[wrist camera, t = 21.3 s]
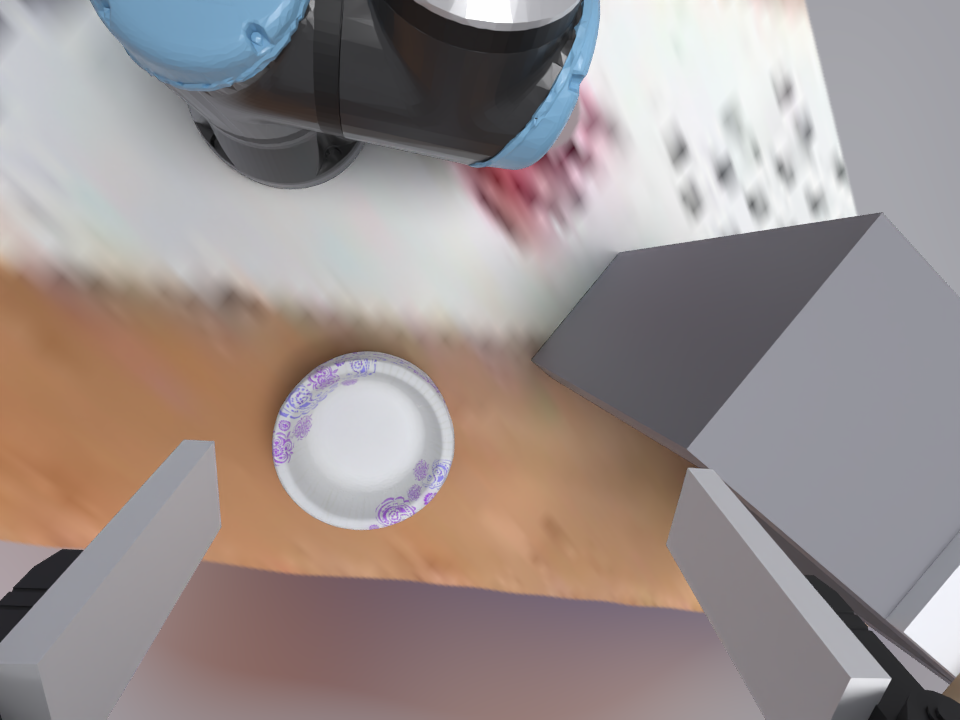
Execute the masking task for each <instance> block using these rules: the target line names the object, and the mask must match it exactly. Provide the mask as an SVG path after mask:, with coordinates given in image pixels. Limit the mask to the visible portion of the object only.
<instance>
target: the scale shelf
mask: <svg viewBox="0 0 960 720" xmlns="http://www.w3.org/2000/svg"><path fill="white" fill-rule="evenodd" d="M531 361H532V362H534V363H535V364H536V365H537V366H538V367H540V368H541V369H542V370H543V371H544V372H546V373H547V374H548V375H549V376H550V377H552V378H553V379H554V380H556V381H558V382H559V383H561V384H563V385H564V386H566V387H568V388H569V389H571V390H573V391H574V392H576V393H577V394H579V395H581V396H582V397H584V398H586V399H587V400H589V401H591V402H592V403H594V404H596V405H597V406H599V407H600V408H602V409H604V410H605V411H607V412H609V413H610V414H612V415H614V416H615V417H617V418H619V419H620V420H622V421H623V422H625V423H627V424H628V425H630V426H632V427H633V428H635V429H637V430H638V431H640V432H642V433H643V434H645V435H646V436H648V437H650V438H651V439H653V440H655V441H656V442H658V443H660V444H661V445H663V446H665V447H666V448H668V449H669V450H671V451H673V452H674V453H676V454H678V455H679V456H681V457H683V458H684V459H686V460H688V461H689V462H691V463H692V464H694V465H696V466H697V467H699V468H701V469H713V470H714V471H715V472H716V473H717V475H718V476H719V477H720V478H721V479H722V480H723V482H724V483H725V484H726V485H727V486H728V487H729V489H730V490H731V491H732V492H733V493H734V494H735V496H736V497H737V498H738V499H739V500H740V501H741V503H742V504H743V505H744V506H745V507H746V509H747V510H748V511H749V512H750V513H751V514H752V516H753V517H754V518H755V519H756V520H757V521H758V523H759V524H760V525H761V526H762V527H763V528H764V530H765V531H766V532H767V533H768V534H769V535H770V537H771V538H772V539H773V540H774V541H775V543H776V544H777V545H778V546H779V547H780V548H781V550H782V551H783V552H784V553H785V554H786V555H787V557H788V558H789V559H790V560H791V561H792V562H793V564H794V565H795V566H796V567H797V568H798V569H799V571H800V572H801V573H802V574H803V575H814V576H816V577H817V578H818V579H820V580H821V581H823V582H824V583H825V584H827V585H828V586H829V587H831V588H832V589H833V590H835V591H836V592H837V593H838V594H839V595H840V596H841V597H842V598H843V599H844V601H845V602H846V603H847V604H848V605H849V606H850V607H851V608H852V610H853V611H854V614H855V615H858V616H859V617H860V618H861V620H862V621H863V622H864V623H866V624H867V625H868V626H870V627H871V628H873V629H874V630H875V631H877V632H878V633H880V634H881V635H882V636H884V637H885V638H886V639H888V640H889V641H890V642H892V643H893V644H895V645H896V646H897V647H899V648H900V649H901V650H903V651H904V652H906V653H907V654H909V655H910V656H911V657H912V658H914V659H915V660H917V661H918V662H919V663H921V664H922V665H924V666H925V667H927V668H928V669H929V670H930V671H932V672H933V673H935V674H936V675H937V676H939V677H940V678H941V679H943V680H944V681H946V682H947V683H948V684H951V683H952V682H953V680H954V679H955V678H956V677H957V676H958V675H959V673H960V297H959V296H958V295H957V294H956V293H955V292H954V291H953V289H952V288H951V287H950V286H949V285H948V284H947V283H946V282H945V281H944V280H943V279H942V277H941V276H940V275H939V274H938V273H937V272H936V271H935V270H934V269H933V267H932V266H931V265H930V264H929V263H928V262H927V261H926V260H925V259H924V258H923V257H922V255H921V254H920V253H919V252H918V251H917V250H916V249H915V248H914V247H913V245H912V244H911V243H910V242H909V241H908V240H907V239H906V238H905V237H904V235H903V234H902V233H901V232H900V231H899V230H898V229H897V228H896V227H895V226H894V225H893V224H892V222H891V221H890V220H889V219H888V218H887V217H886V216H885V215H884V213H883V212H881V213H875V214H869V215H862V216H855V217H849V218H842V219H835V220H829V221H822V222H816V223H809V224H803V225H796V226H790V227H783V228H777V229H770V230H764V231H757V232H750V233H744V234H737V235H731V236H724V237H718V238H711V239H705V240H698V241H692V242H685V243H679V244H672V245H665V246H659V247H652V248H646V249H639V250H633V251H626V252H620V253H618V255H617V256H616V257H615V258H614V260H613V261H612V262H611V263H610V264H609V266H608V267H607V268H606V269H605V271H604V272H603V273H602V274H601V275H600V277H599V278H598V279H597V280H596V282H595V283H594V284H593V285H592V286H591V288H590V289H589V290H588V291H587V292H586V294H585V295H584V296H583V297H582V299H581V300H580V301H579V302H578V303H577V305H576V306H575V307H574V308H573V310H572V311H571V312H570V313H569V314H568V316H567V317H566V318H565V319H564V321H563V322H562V323H561V324H560V325H559V327H558V328H557V329H556V330H555V332H554V333H553V334H552V335H551V336H550V338H549V339H548V340H547V341H546V342H545V344H544V345H543V346H542V347H541V349H540V350H539V351H538V352H537V353H536V355H535V356H534V357H533V358H532V360H531Z"/></svg>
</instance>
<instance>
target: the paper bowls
mask: <svg viewBox="0 0 960 720" xmlns="http://www.w3.org/2000/svg"><path fill="white" fill-rule="evenodd" d="M272 451H273V452H272V454H273V461H274V466H275V469H276V472H277V475H278V478H279V480H280V482H281V484H282V486H283V487H284V489H285V490H286V492H287V493H288V495H289V496H290V497H291V498H292V500H294V502H295V503H296V504H297V505H298V506H299V507H301V508H302V509H303V510H304V511H305V512H307V513H308V514H310V515H311V516H313V517H314V518H316V519H318V520H320V521H322V522H324V523H327V524H329V525H333V526H336V527H340V528H345V529H353V530H371V529H378V528H383V527H387V526H390V525H393V524H396V523H399V522H401V521H403V520H405V519H407V518H409V517H411V516H412V515H414V514H415V513H417V512H418V511H420V510H421V509H422V508H423V507H424V506H426V505H427V504H428V503H429V502H430V501H431V500H432V499H433V497H434V496H435V495H436V494H437V492H438V491H439V490H440V488H441V486H442V485H443V483H444V482H445V480H446V478H447V475H448V473H449V470H450V467H451V464H452V460H453V456H454V428H453V424H452V420H451V417H450V414H449V411H448V408H447V406H446V403H445V401H444V398H443V396H442V395H441V393H440V391H439V390H438V388H437V387H436V385H435V384H434V382H433V381H432V380H431V379H430V377H429V376H428V375H427V374H426V373H424V372H423V371H422V370H421V369H419V368H418V367H416V366H415V365H413V364H412V363H410V362H408V361H406V360H404V359H402V358H399V357H396V356H393V355H390V354H385V353H380V352H370V351H365V352H353V353H349V354H344V355H341V356H338V357H335V358H333V359H331V360H329V361H327V362H325V363H323V364H321V365H319V366H318V367H316V368H315V369H313V370H312V371H311V372H310V373H309V374H307V375H306V376H305V377H304V378H303V379H302V380H301V381H300V382H299V383H298V384H297V385H296V387H295V388H294V389H293V390H292V392H291V393H290V394H289V395H288V397H287V398H286V400H285V401H284V403H283V405H282V407H281V408H280V411H279V413H278V416H277V419H276V422H275V426H274V430H273V440H272Z"/></svg>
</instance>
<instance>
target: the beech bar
mask: <svg viewBox="0 0 960 720" xmlns="http://www.w3.org/2000/svg"><path fill="white" fill-rule="evenodd" d="M942 695H945V696H947V697H950V698H952V699H953V700H955V701H957V702H958V703H960V673H959V675H958V676H957V677H956V678H955V679H954V680H953V682H952V683H951V684H950V686H948V688H947V689H946V690H945V691H944V692H943V694H942Z"/></svg>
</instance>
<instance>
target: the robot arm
mask: <svg viewBox="0 0 960 720" xmlns="http://www.w3.org/2000/svg"><path fill="white" fill-rule="evenodd" d="M90 1H91V3H92V5H93V7H94V9H95V11H96V12H97V14H98V16H99V17H100V19H101V20H102V22H103V23H104V24H105V26H106V27H107V28H108V29H109V31H110V32H111V33H112V34H113V35H114V36H115V38H116V39H117V40H118V41H119V42H120V43H121V44H122V45H123V46H124V48H125V50H126V52H127V53H128V55H129V56H130V57H131V58H132V60H133V61H134V62H135V63H137V64H138V65H139V66H140V67H141V68H142V69H144V70H146V71H147V72H148V73H149V74H150V75H151V76H156V77H157V78H158V80H159V81H161V82H163V83H164V84H166V85H167V86H168V87H169V88H170V89H171V90H173V91H174V92H175V93H176V94H177V95H179V96H180V97H181V98H182V99H183V100H185V101H186V102H187V103H188V106H189V109H190V112H191V115H192V118H193V120H194V122H195V124H196V126H197V128H198V130H199V132H200V134H201V135H202V137H203V138H204V140H205V141H206V142H207V144H208V145H209V146H210V148H211V149H212V150H213V151H214V152H215V153H216V154H217V155H218V156H219V157H220V158H221V159H222V160H223V161H224V162H226V163H227V164H228V165H230V166H231V167H232V168H234V169H235V170H237V171H238V172H239V173H241V174H243V175H244V176H246V177H248V178H250V179H252V180H254V181H256V182H259V183H261V184H264V185H268V186H272V187H277V188H285V189H299V188H307V187H311V186H315V185H318V184H321V183H324V182H326V181H328V180H330V179H332V178H334V177H335V176H337V175H338V174H340V173H341V172H342V171H344V170H345V169H346V168H347V167H348V166H349V165H350V164H351V163H352V162H353V161H354V159H355V158H356V157H357V155H358V154H359V152H360V151H361V149H362V147H363V145H364V143H365V142H366V143H371V144H375V145H380V146H385V147H389V148H394V149H398V150H403V151H407V152H412V153H416V154H421V155H426V156H430V157H435V158H439V159H444V160H448V161H453V162H458V163H462V164H466V165H469V166H471V167H476V168H480V167H486V166H488V167H495V168H503V169H510V170H518V169H523V168H526V167H529V166H531V165H532V164H534V163H536V162H537V161H538V160H539V159H541V158H542V157H543V156H544V155H545V154H546V153H547V152H548V150H549V149H550V148H551V147H552V145H553V144H554V142H555V141H556V140H557V138H558V137H559V135H560V133H561V132H562V130H563V129H564V127H565V125H566V123H567V121H568V119H569V117H570V115H571V113H572V111H573V109H574V107H575V105H576V102H577V100H578V97H579V85H580V83H581V81H582V80H583V78H584V77H585V76H586V75H587V72H588V69H589V66H590V63H591V60H592V57H593V53H594V49H595V44H596V40H597V35H598V29H599V20H600V0H90ZM220 528H221V517H220V504H219V492H218V480H217V468H216V456H215V444H214V441H200V440H183V441H182V442H181V443H180V445H179V446H178V447H177V448H176V449H175V450H174V451H173V452H172V453H171V455H170V456H169V457H168V458H167V459H166V460H165V461H164V462H163V463H162V464H161V466H160V467H159V468H158V469H157V470H156V471H155V472H154V473H153V474H152V476H151V477H150V478H149V479H148V480H147V481H146V482H145V483H144V484H143V485H142V487H141V488H140V489H139V490H138V491H137V492H136V493H135V494H134V495H133V497H132V498H131V499H130V500H129V501H128V502H127V503H126V504H125V505H124V506H123V508H122V509H121V510H120V511H119V512H118V513H117V514H116V515H115V516H114V518H113V519H112V520H111V521H110V522H109V523H108V524H107V525H106V526H105V527H104V529H103V530H102V531H101V532H100V533H99V534H98V535H97V536H96V537H95V539H94V540H93V541H92V542H91V543H90V544H89V545H88V546H87V547H86V548H85V550H69V549H62V550H60V551H59V552H57V553H55V554H54V555H52V556H51V557H49V558H47V559H46V560H44V561H42V562H41V563H39V564H37V565H36V566H34V567H33V568H32V569H31V570H30V571H29V572H28V573H27V574H26V575H25V576H24V577H23V578H22V579H21V580H20V581H19V582H18V583H17V584H16V585H15V586H14V587H13V591H12V592H9V593H7V594H6V596H4V597H3V599H1V601H0V720H107V718H108V717H109V715H110V713H111V712H112V710H113V708H114V706H115V705H116V703H117V702H118V700H119V698H120V697H121V695H122V693H123V691H124V690H125V688H126V686H127V685H128V683H129V681H130V680H131V678H132V676H133V675H134V673H135V671H136V670H137V668H138V666H139V664H140V663H141V661H142V659H143V657H144V656H145V654H146V653H147V651H148V649H149V647H150V646H151V644H152V643H153V641H154V639H155V638H156V636H157V634H158V633H159V631H160V629H161V627H162V626H163V624H164V622H165V621H166V619H167V617H168V615H169V614H170V612H171V611H172V609H173V607H174V606H175V604H176V602H177V600H178V599H179V597H180V595H181V594H182V592H183V590H184V589H185V587H186V585H187V584H188V582H189V580H190V579H191V577H192V575H193V574H194V572H195V570H196V569H197V567H198V565H199V563H200V562H201V560H202V558H203V557H204V555H205V553H206V552H207V550H208V548H209V547H210V545H211V543H212V542H213V540H214V538H215V536H216V535H217V533H218V531H219V530H220ZM666 546H667V547H668V549H669V551H670V553H671V554H672V556H673V558H674V560H675V561H676V563H677V565H678V567H679V568H680V570H681V572H682V574H683V575H684V577H685V579H686V581H687V583H688V584H689V586H690V588H691V590H692V591H693V593H694V595H695V597H696V598H697V600H698V602H699V604H700V605H701V607H702V609H703V611H704V612H705V614H706V616H707V618H708V619H709V621H710V623H711V625H712V626H713V628H714V630H715V632H716V633H717V635H718V637H719V639H720V640H721V642H722V644H723V646H724V648H725V649H726V651H727V653H728V655H729V656H730V658H731V660H732V662H733V663H734V665H735V667H736V669H737V670H738V672H739V674H740V675H741V677H742V679H743V681H744V683H745V684H746V686H747V688H748V690H749V691H750V693H751V695H752V696H753V699H754V700H755V702H756V704H757V706H758V707H759V709H760V711H761V712H762V714H763V716H764V718H765V720H960V703H958V702H957V701H955V700H953V699H952V698H950V697H947V696H945V695H942V694H940V693H937V692H934V691H929V690H924V689H923V688H922V687H921V685H920V684H919V683H918V682H917V681H916V680H915V679H914V678H913V676H912V675H911V674H910V673H909V672H908V671H907V670H906V669H905V668H904V666H903V665H902V664H901V663H900V662H899V661H898V660H897V659H896V657H895V656H894V655H893V654H892V653H891V652H890V651H889V650H888V649H887V648H886V646H885V645H884V644H883V643H882V642H881V641H880V640H879V639H878V637H877V636H876V635H875V634H874V633H873V632H872V631H869V630H868V626H867V625H866V624H865V623H864V622H863V621H862V620H861V618H860V617H859V616H858V615H855V614H854V611H853V610H852V608H851V607H850V606H849V605H848V604H847V603H846V602H845V601H844V599H843V598H842V597H841V596H840V595H839V594H838V593H837V592H836V591H835V590H833V589H832V588H831V587H829V586H828V585H827V584H825V583H824V582H823V581H821V580H820V579H818V578H817V577H816V576H814V575H803V574H802V573H801V572H800V571H799V569H798V568H797V567H796V566H795V565H794V564H793V562H792V561H791V560H790V559H789V558H788V557H787V555H786V554H785V553H784V552H783V551H782V550H781V548H780V547H779V546H778V545H777V544H776V543H775V541H774V540H773V539H772V538H771V537H770V535H769V534H768V533H767V532H766V531H765V530H764V528H763V527H762V526H761V525H760V524H759V523H758V521H757V520H756V519H755V518H754V517H753V516H752V514H751V513H750V512H749V511H748V510H747V509H746V507H745V506H744V505H743V504H742V503H741V501H740V500H739V499H738V498H737V497H736V496H735V494H734V493H733V492H732V491H731V490H730V489H729V487H728V486H727V485H726V484H725V483H724V482H723V480H722V479H721V478H720V477H719V476H718V475H717V473H716V472H715V471H714V470H713V469H701V468H687V472H686V476H685V479H684V483H683V486H682V490H681V494H680V497H679V501H678V504H677V508H676V511H675V515H674V519H673V522H672V526H671V529H670V533H669V537H668V540H667V544H666Z"/></svg>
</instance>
